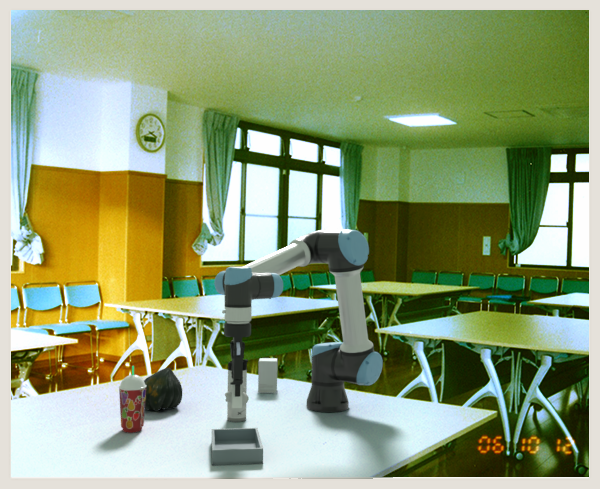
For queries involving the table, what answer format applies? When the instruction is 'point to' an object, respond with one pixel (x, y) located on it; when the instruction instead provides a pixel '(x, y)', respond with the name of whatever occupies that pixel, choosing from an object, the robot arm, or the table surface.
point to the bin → (236, 446)
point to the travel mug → (233, 413)
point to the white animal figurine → (244, 396)
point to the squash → (162, 390)
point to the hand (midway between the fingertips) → (236, 404)
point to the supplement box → (267, 375)
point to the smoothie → (132, 403)
